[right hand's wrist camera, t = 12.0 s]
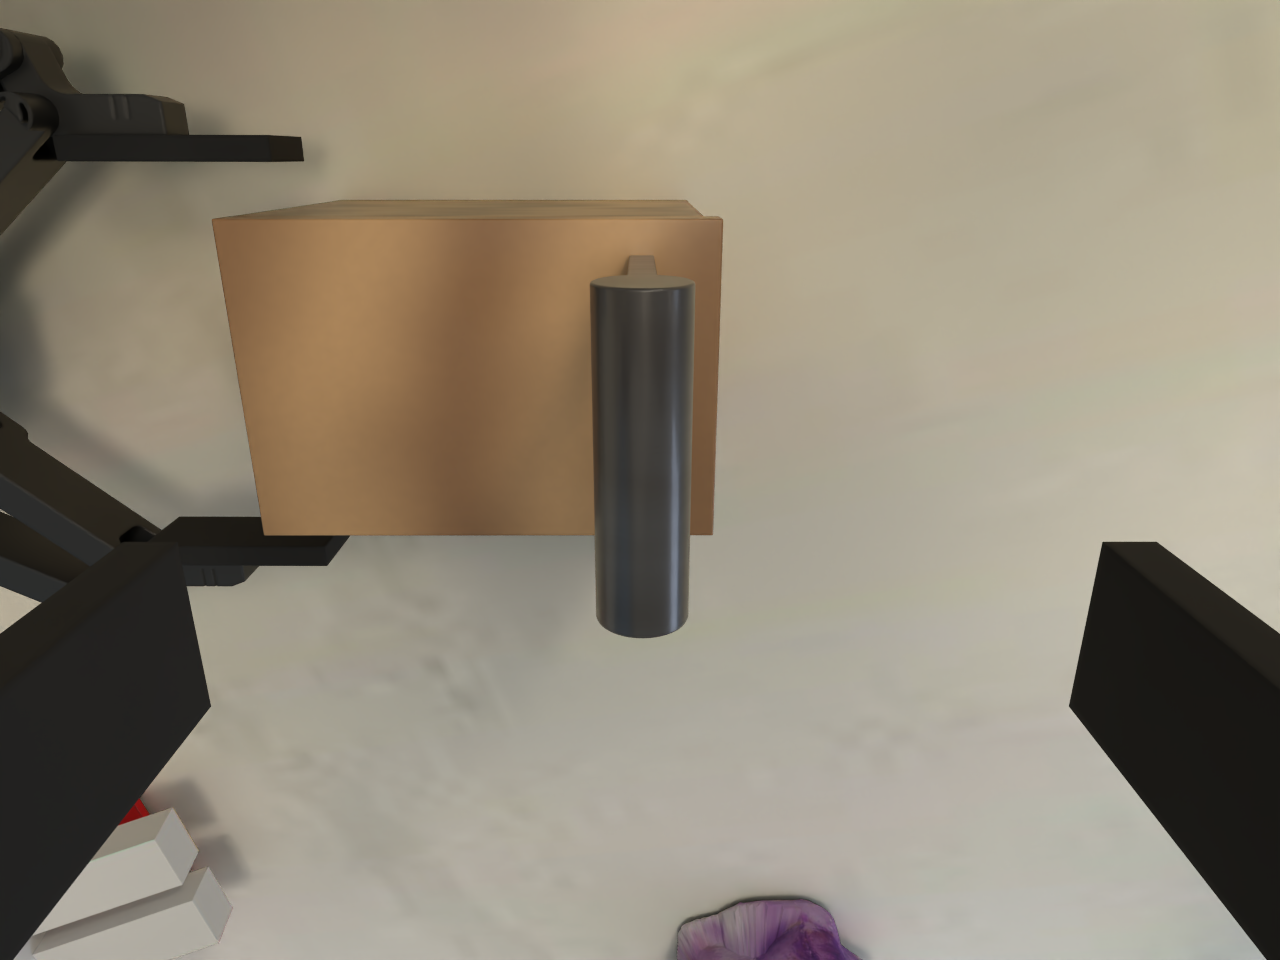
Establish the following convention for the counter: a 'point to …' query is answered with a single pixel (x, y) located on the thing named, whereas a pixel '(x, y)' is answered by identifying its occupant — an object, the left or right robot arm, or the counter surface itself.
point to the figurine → (764, 933)
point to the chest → (490, 208)
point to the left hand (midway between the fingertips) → (316, 360)
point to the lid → (486, 383)
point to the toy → (136, 898)
